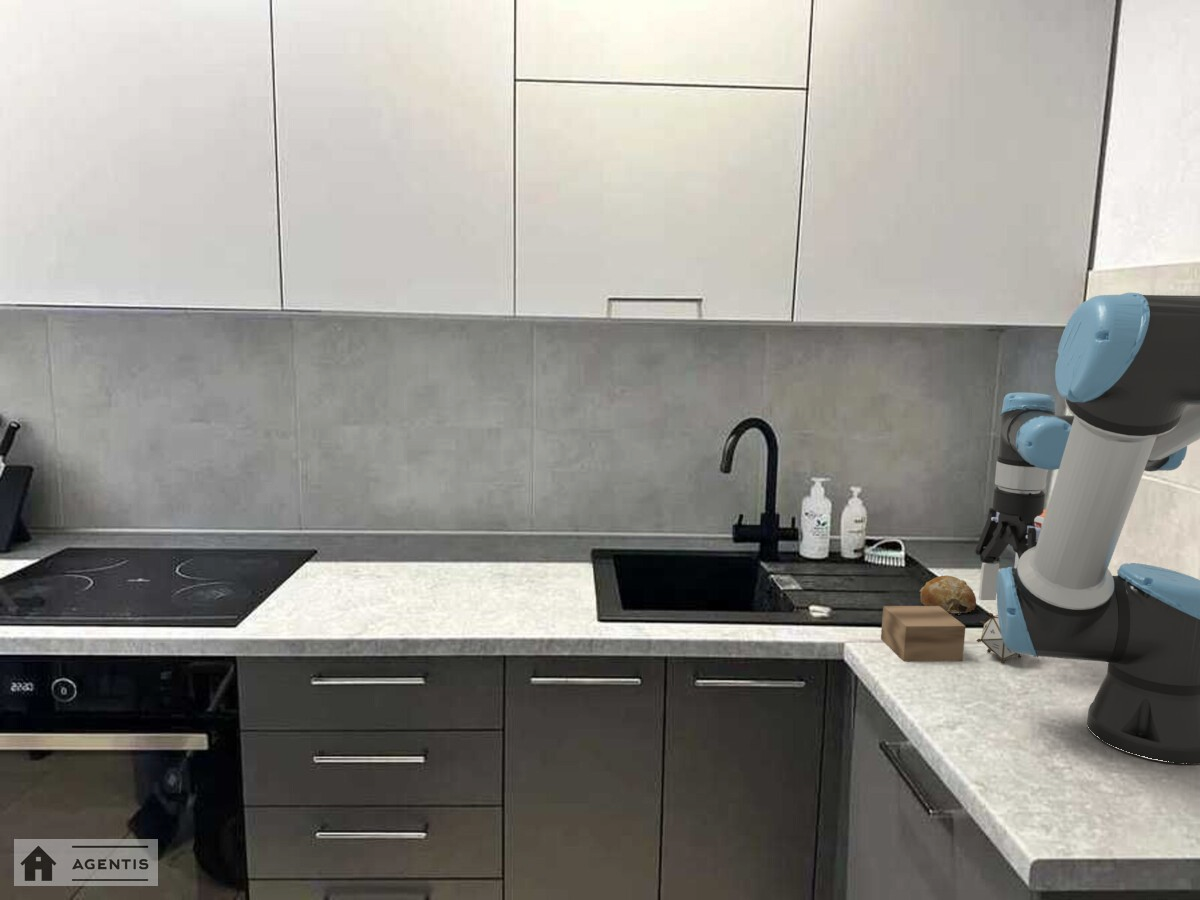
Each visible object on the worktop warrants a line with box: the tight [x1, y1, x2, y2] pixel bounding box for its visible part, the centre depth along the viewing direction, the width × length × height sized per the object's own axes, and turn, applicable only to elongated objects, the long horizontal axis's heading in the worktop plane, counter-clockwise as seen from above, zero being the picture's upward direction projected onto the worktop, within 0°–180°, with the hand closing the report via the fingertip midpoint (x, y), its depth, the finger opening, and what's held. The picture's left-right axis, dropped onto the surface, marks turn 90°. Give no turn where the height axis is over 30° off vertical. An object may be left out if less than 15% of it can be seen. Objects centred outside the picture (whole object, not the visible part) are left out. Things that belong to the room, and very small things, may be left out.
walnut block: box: [880, 605, 966, 662], centre depth 153 cm, size 10×10×6 cm
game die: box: [976, 612, 1023, 665], centre depth 150 cm, size 9×8×10 cm
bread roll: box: [919, 575, 977, 613], centre depth 176 cm, size 10×10×8 cm
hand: (1007, 613), depth 150 cm, fingers open, 13 cm apart
